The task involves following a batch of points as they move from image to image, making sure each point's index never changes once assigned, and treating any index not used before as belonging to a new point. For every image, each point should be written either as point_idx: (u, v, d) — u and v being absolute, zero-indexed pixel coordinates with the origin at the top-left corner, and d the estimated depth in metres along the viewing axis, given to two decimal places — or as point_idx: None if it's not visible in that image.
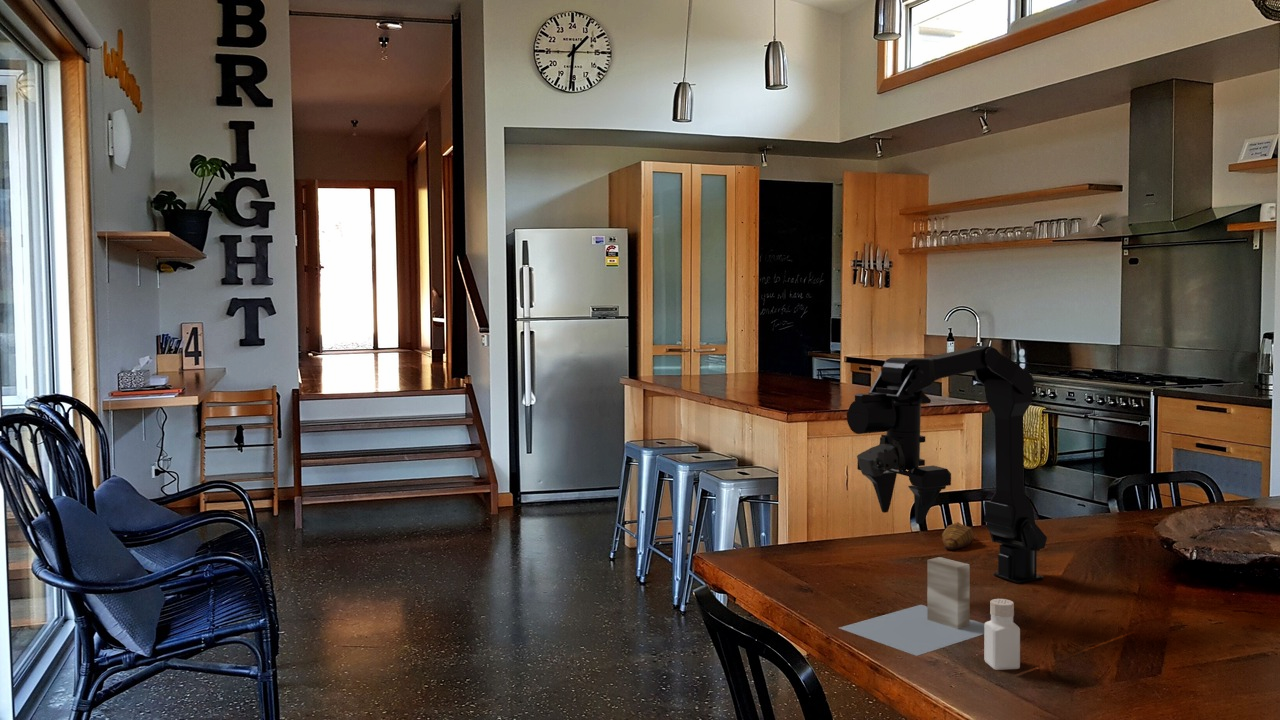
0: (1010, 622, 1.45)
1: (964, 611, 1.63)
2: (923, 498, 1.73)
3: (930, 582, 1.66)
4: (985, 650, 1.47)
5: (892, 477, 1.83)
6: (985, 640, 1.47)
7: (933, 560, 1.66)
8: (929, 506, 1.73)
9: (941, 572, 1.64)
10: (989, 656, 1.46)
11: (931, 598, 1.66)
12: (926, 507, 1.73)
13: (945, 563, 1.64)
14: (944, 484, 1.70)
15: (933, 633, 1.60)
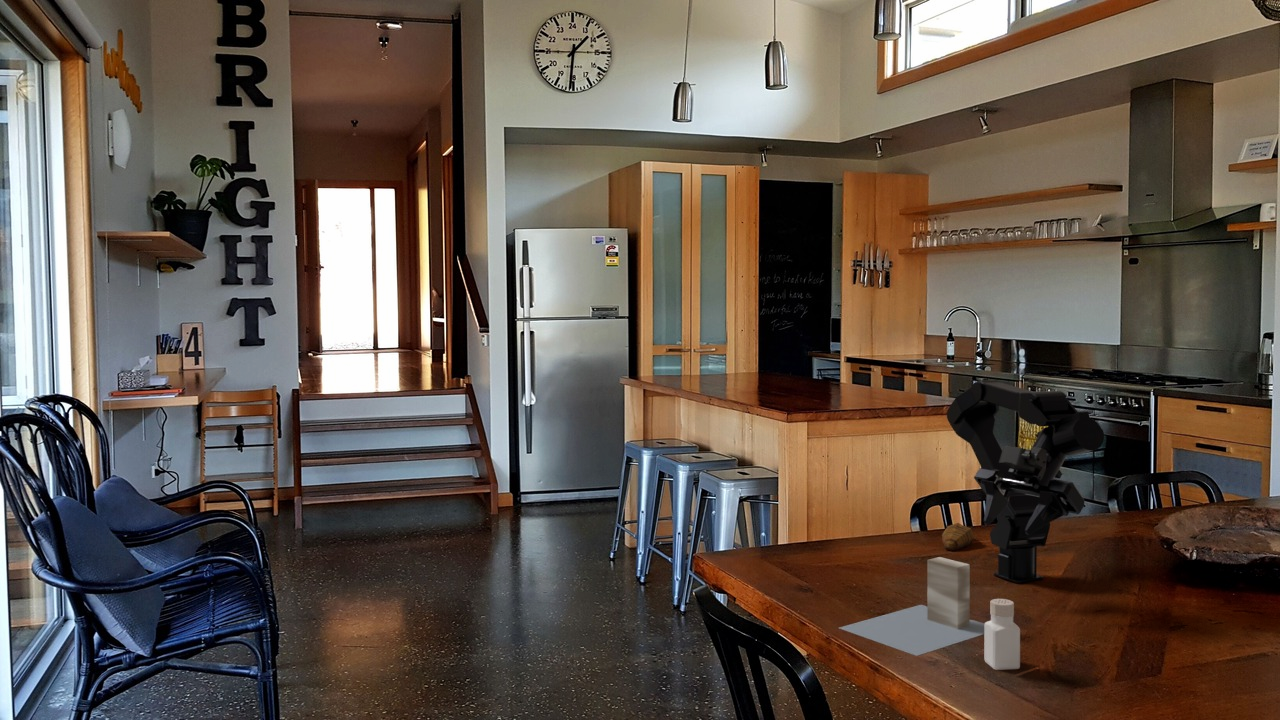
0: (1010, 622, 1.45)
1: (964, 611, 1.63)
2: (1044, 511, 1.70)
3: (930, 582, 1.66)
4: (985, 650, 1.47)
5: (1004, 502, 1.80)
6: (985, 640, 1.47)
7: (933, 560, 1.66)
8: (1043, 524, 1.71)
9: (941, 572, 1.64)
10: (989, 656, 1.46)
11: (931, 598, 1.66)
12: (1041, 522, 1.70)
13: (945, 563, 1.64)
14: (1077, 506, 1.69)
15: (933, 633, 1.60)
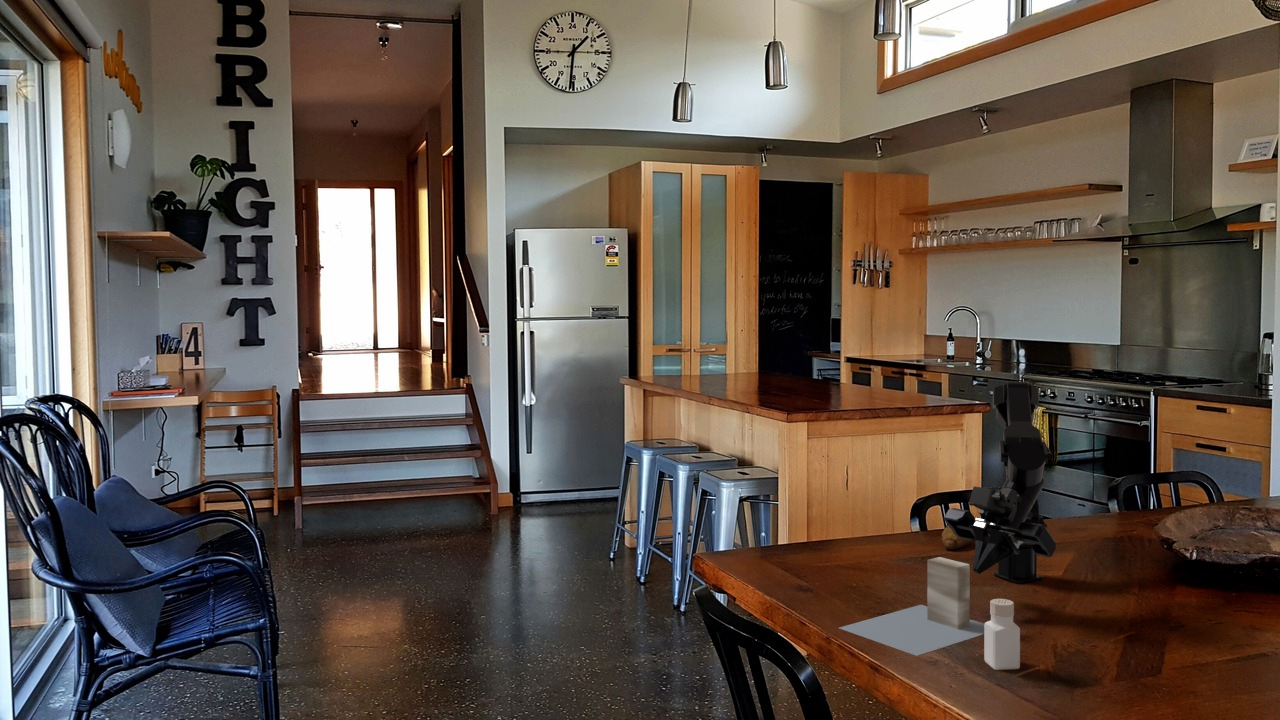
0: (1010, 622, 1.45)
1: (964, 611, 1.63)
2: (994, 550, 1.69)
3: (930, 582, 1.66)
4: (985, 650, 1.47)
5: None
6: (985, 640, 1.47)
7: (933, 560, 1.66)
8: (994, 562, 1.69)
9: (941, 572, 1.64)
10: (989, 656, 1.46)
11: (931, 598, 1.66)
12: (992, 561, 1.69)
13: (945, 563, 1.64)
14: (1049, 550, 1.64)
15: (933, 633, 1.60)
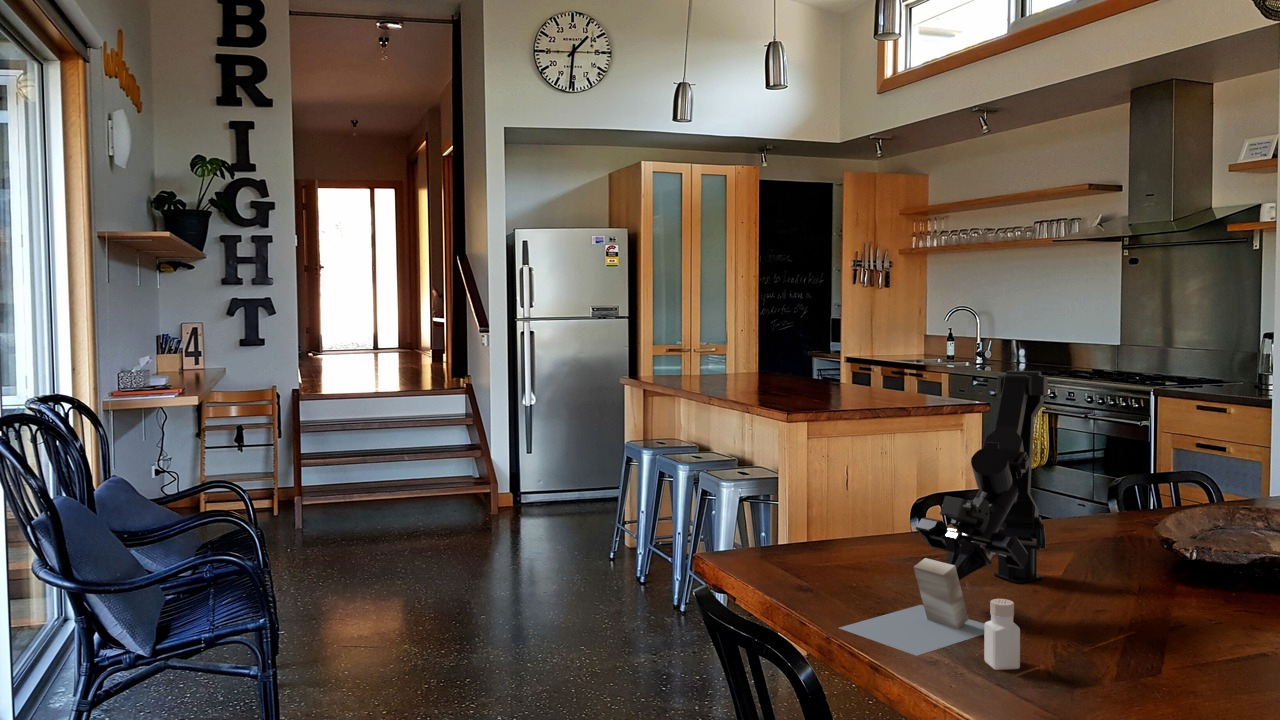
0: (1010, 622, 1.45)
1: (961, 610, 1.62)
2: (966, 561, 1.65)
3: (921, 587, 1.65)
4: (985, 650, 1.47)
5: None
6: (985, 640, 1.47)
7: (919, 566, 1.64)
8: (965, 574, 1.65)
9: (929, 578, 1.62)
10: (989, 656, 1.46)
11: (926, 601, 1.65)
12: (963, 572, 1.65)
13: (931, 569, 1.62)
14: (1021, 561, 1.60)
15: (933, 633, 1.60)
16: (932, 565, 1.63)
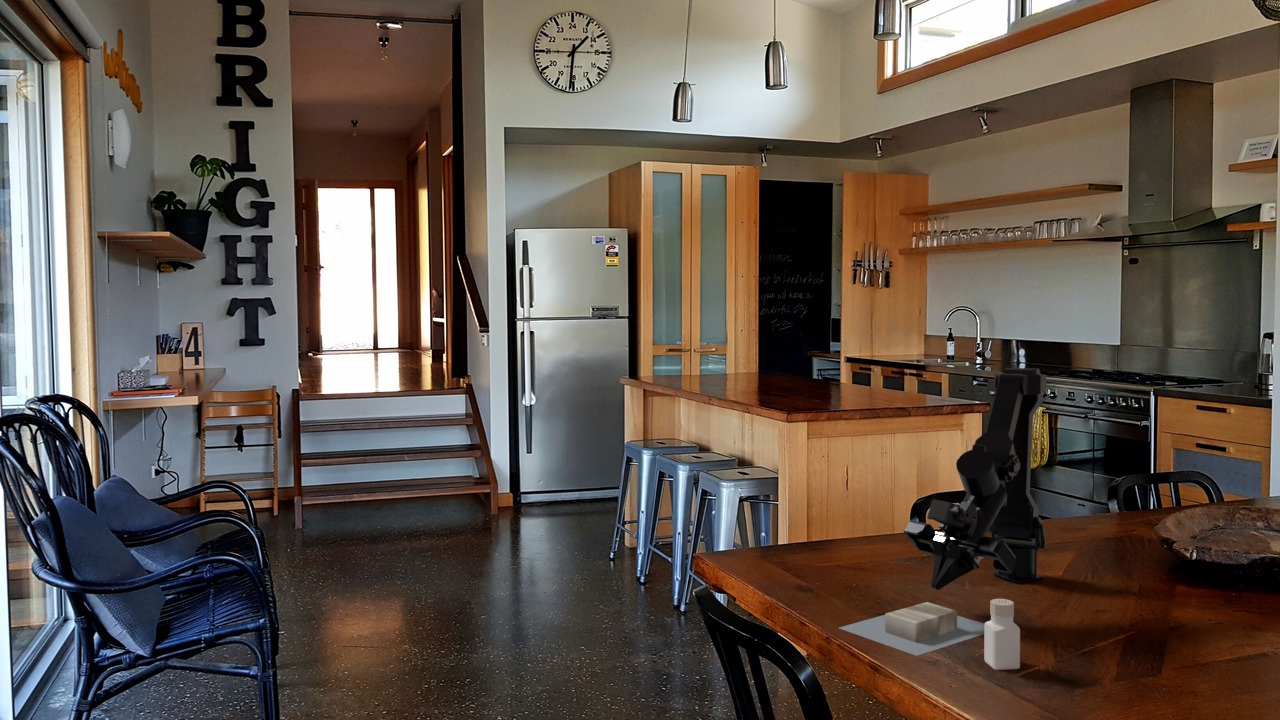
0: (1010, 622, 1.45)
1: (947, 621, 1.60)
2: (954, 565, 1.63)
3: None
4: (985, 650, 1.47)
5: None
6: (985, 640, 1.47)
7: (889, 630, 1.60)
8: (953, 578, 1.63)
9: None
10: (989, 656, 1.46)
11: None
12: (951, 577, 1.63)
13: (901, 634, 1.58)
14: (1008, 566, 1.58)
15: None
16: (898, 626, 1.59)
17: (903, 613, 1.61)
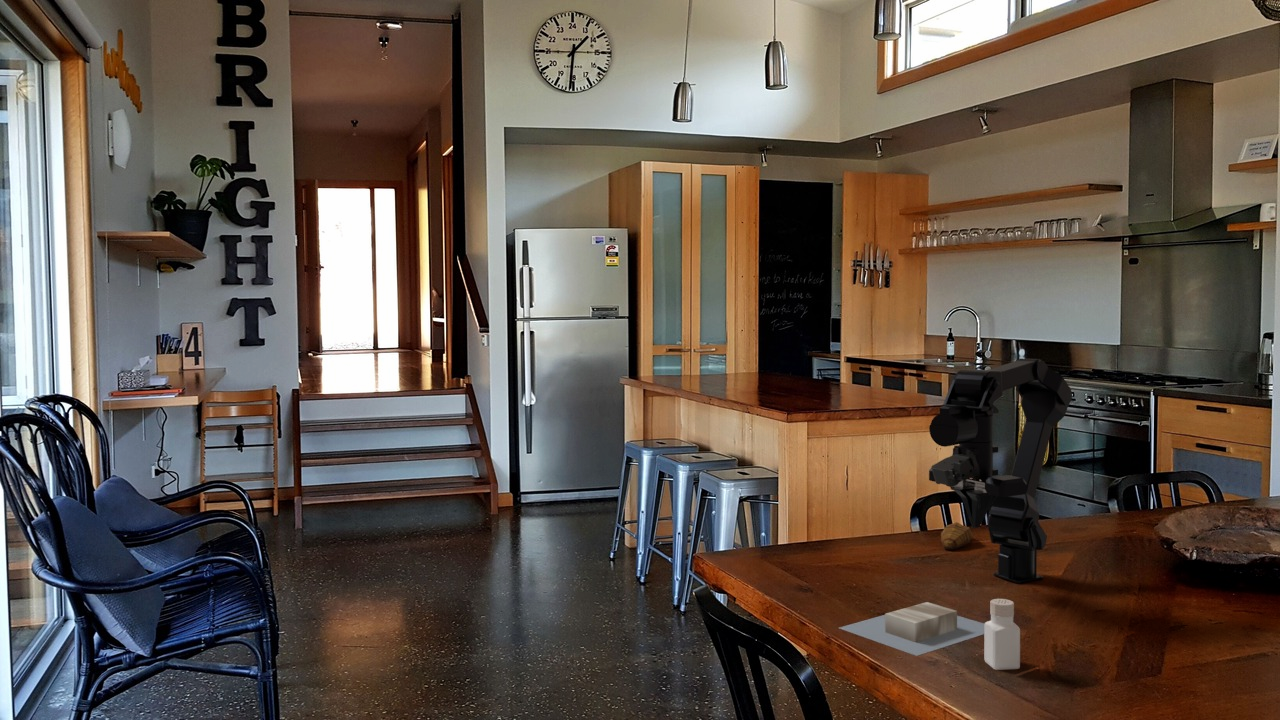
0: (1010, 622, 1.45)
1: (947, 621, 1.60)
2: (980, 502, 1.79)
3: None
4: (985, 650, 1.47)
5: None
6: (985, 640, 1.47)
7: (889, 630, 1.60)
8: (986, 510, 1.80)
9: None
10: (989, 656, 1.46)
11: None
12: (983, 511, 1.80)
13: (901, 634, 1.58)
14: (1020, 493, 1.73)
15: None
16: (898, 626, 1.59)
17: (903, 613, 1.61)
